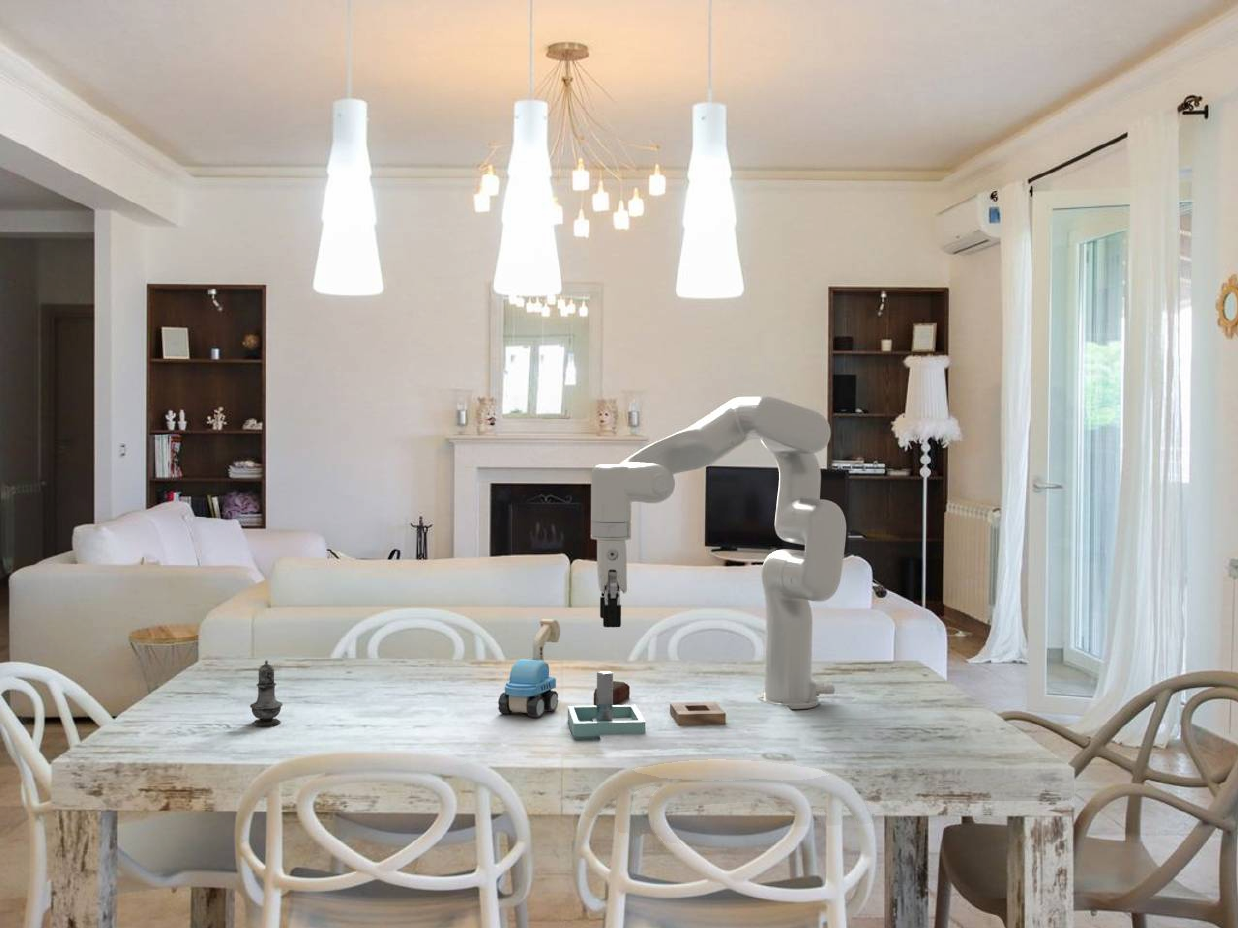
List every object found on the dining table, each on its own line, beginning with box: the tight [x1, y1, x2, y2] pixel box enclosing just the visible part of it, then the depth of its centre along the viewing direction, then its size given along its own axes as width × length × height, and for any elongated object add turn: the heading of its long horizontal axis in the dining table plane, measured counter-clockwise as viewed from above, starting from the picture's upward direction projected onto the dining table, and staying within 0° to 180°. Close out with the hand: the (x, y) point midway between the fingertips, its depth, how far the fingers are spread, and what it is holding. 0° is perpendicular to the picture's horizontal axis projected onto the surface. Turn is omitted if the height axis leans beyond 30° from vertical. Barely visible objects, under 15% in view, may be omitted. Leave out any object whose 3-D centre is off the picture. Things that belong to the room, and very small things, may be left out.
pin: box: [595, 670, 614, 722], centre depth 216 cm, size 3×3×10 cm
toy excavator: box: [497, 618, 561, 718], centre depth 231 cm, size 9×17×17 cm, turn 155°
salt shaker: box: [249, 659, 283, 728], centre depth 217 cm, size 6×6×12 cm
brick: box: [593, 680, 631, 706], centre depth 234 cm, size 11×4×5 cm, turn 159°
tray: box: [567, 704, 646, 741], centre depth 216 cm, size 13×13×3 cm
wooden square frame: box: [669, 701, 727, 726], centre depth 221 cm, size 9×9×3 cm
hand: (610, 622), depth 216 cm, fingers open, 9 cm apart
